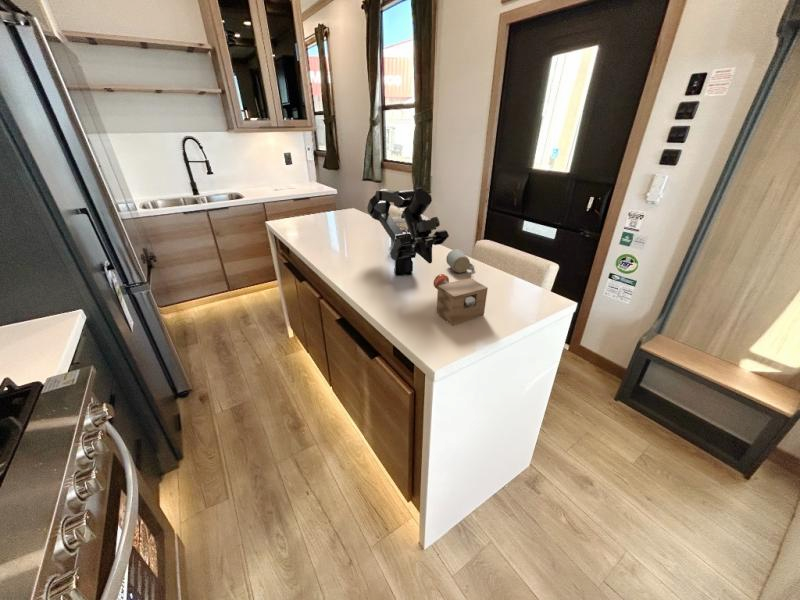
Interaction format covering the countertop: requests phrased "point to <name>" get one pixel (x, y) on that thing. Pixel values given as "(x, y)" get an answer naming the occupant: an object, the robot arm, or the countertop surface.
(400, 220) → the french press
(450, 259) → the ceramic mug
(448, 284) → the hitch block
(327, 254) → the countertop surface
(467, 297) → the steel pin
